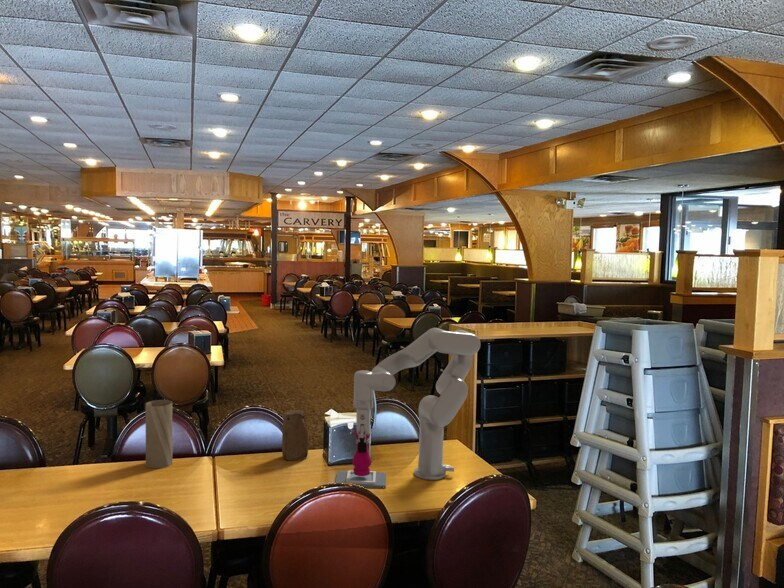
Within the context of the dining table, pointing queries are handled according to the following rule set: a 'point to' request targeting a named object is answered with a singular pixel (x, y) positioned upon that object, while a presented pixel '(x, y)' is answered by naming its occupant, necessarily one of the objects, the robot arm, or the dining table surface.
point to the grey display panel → (362, 479)
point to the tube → (158, 434)
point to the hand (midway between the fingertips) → (362, 449)
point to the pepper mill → (361, 459)
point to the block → (294, 435)
